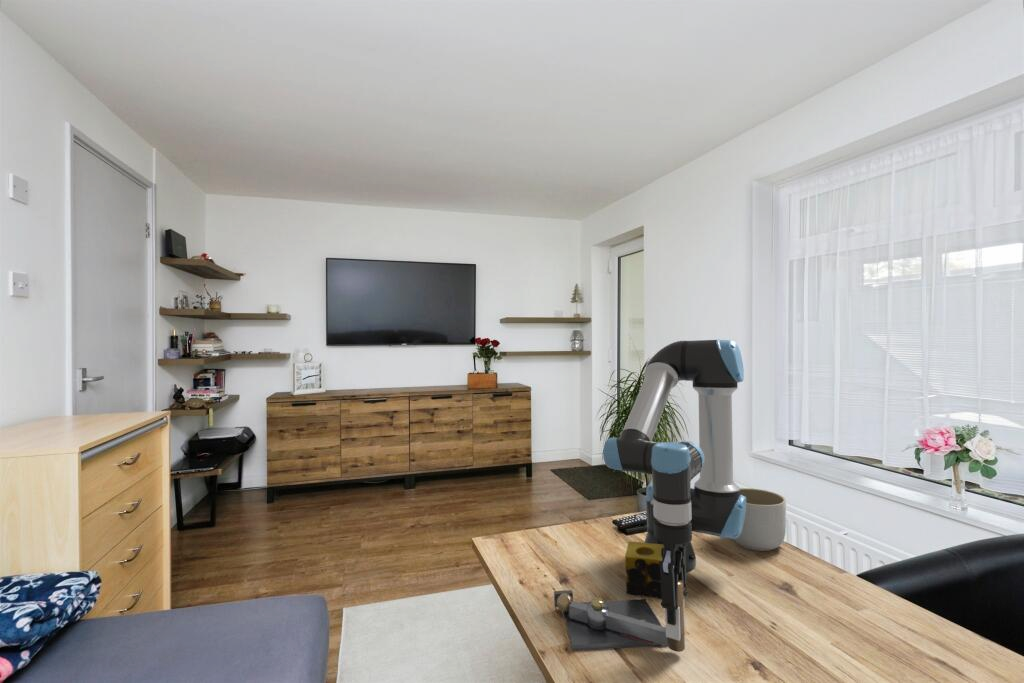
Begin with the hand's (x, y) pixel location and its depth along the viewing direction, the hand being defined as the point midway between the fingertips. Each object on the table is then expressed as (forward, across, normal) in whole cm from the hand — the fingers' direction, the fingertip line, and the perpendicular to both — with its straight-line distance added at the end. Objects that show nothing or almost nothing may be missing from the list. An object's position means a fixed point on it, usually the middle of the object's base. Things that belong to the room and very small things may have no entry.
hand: (675, 632), depth 98 cm
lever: (+3, 0, -11) cm, 11 cm away
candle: (+5, -23, -13) cm, 27 cm away
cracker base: (+5, -2, -15) cm, 16 cm away
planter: (+5, -65, +9) cm, 66 cm away
